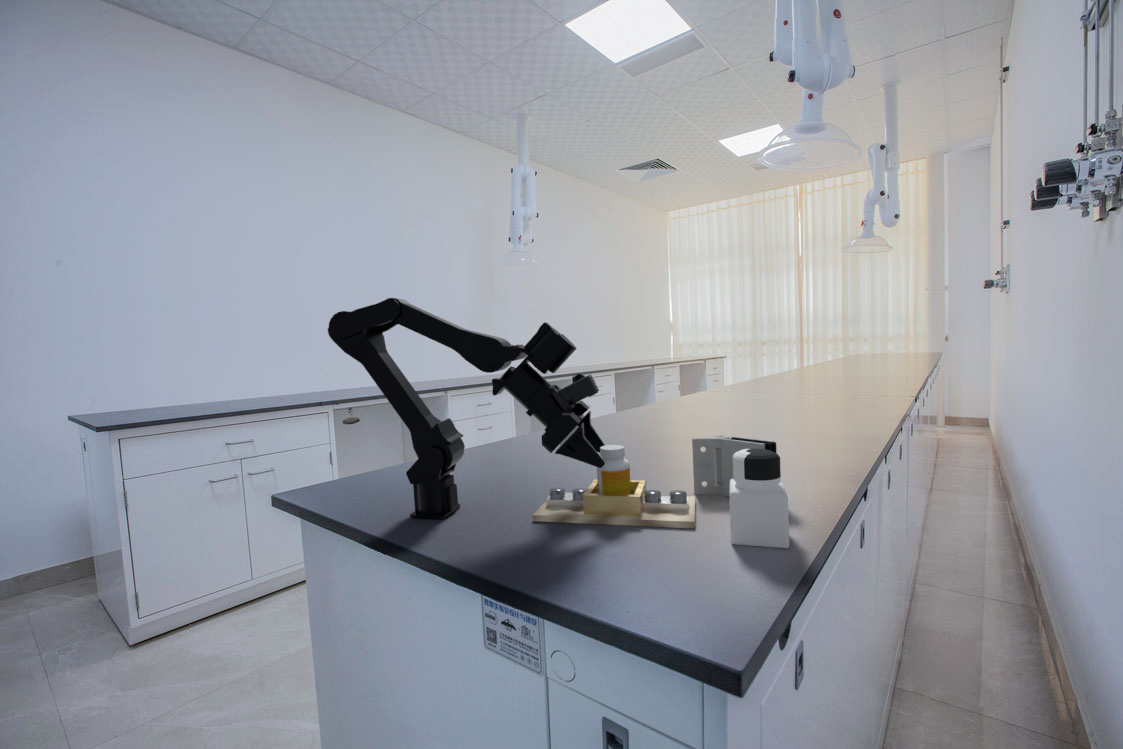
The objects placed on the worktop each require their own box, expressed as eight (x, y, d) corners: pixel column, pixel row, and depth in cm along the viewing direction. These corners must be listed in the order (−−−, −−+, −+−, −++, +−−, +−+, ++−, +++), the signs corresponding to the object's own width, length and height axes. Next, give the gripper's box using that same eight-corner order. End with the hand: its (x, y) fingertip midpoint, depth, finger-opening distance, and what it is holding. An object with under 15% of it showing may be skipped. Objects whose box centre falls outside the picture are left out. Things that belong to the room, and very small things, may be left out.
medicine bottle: (784, 529, 71) (781, 446, 70) (789, 549, 64) (787, 457, 63) (731, 525, 73) (728, 445, 72) (731, 545, 66) (728, 456, 66)
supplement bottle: (638, 506, 81) (635, 447, 80) (609, 513, 78) (606, 452, 78) (620, 498, 86) (617, 442, 85) (592, 504, 83) (589, 446, 83)
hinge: (692, 494, 89) (690, 438, 89) (703, 486, 93) (702, 433, 93) (773, 506, 81) (772, 444, 80) (782, 497, 85) (780, 438, 84)
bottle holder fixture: (541, 512, 81) (540, 493, 80) (556, 495, 89) (555, 478, 89) (687, 517, 74) (686, 498, 74) (688, 499, 83) (688, 481, 83)
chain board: (533, 521, 80) (532, 515, 79) (554, 497, 91) (553, 492, 91) (694, 528, 73) (694, 521, 73) (695, 502, 84) (695, 496, 84)
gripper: (559, 360, 72) (639, 434, 71) (574, 356, 91) (638, 415, 90) (509, 415, 74) (586, 488, 73) (534, 400, 92) (596, 458, 91)
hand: (604, 458), depth 82 cm, fingers open, 9 cm apart
